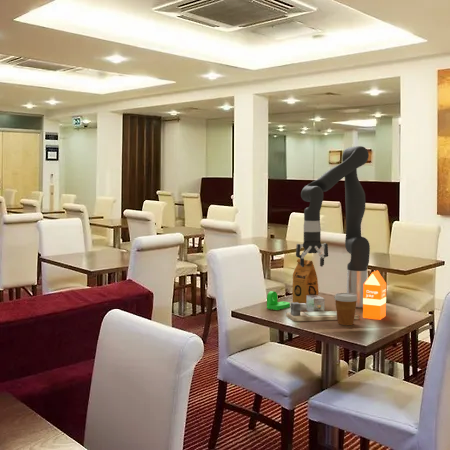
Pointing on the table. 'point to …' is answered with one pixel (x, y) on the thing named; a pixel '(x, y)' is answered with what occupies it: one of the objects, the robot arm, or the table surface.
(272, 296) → the mechanical part
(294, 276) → the coffee package
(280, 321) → the table surface
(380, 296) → the orange juice
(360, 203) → the robot arm
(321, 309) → the block
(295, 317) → the coupling stand
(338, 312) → the disposable coffee cup
